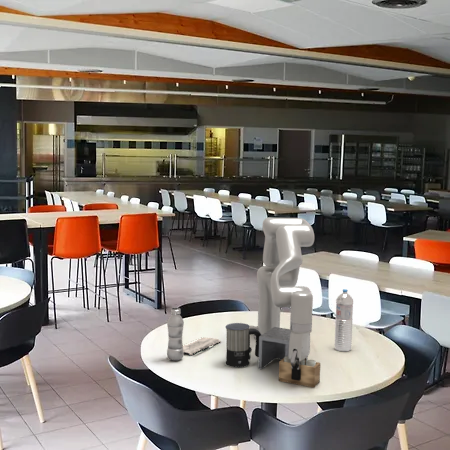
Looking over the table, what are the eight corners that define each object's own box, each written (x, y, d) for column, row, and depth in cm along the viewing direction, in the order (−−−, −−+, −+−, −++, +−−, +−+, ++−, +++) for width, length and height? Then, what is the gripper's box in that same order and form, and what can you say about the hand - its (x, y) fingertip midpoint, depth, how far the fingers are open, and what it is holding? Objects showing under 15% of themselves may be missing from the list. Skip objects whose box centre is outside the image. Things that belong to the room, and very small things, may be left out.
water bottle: (351, 352, 256) (353, 291, 253) (334, 351, 257) (336, 290, 254) (351, 347, 263) (353, 288, 260) (334, 346, 264) (336, 287, 261)
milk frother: (231, 369, 233) (232, 330, 232) (213, 357, 247) (213, 320, 246) (265, 364, 240) (266, 326, 238) (245, 352, 254) (245, 316, 252)
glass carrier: (278, 381, 222) (279, 358, 221) (284, 375, 228) (285, 354, 227) (314, 387, 217) (314, 365, 216) (319, 382, 222) (320, 360, 221)
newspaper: (194, 358, 247) (193, 352, 247) (169, 356, 253) (169, 350, 253) (225, 344, 266) (225, 338, 266) (201, 342, 272) (201, 336, 272)
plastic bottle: (186, 358, 245) (186, 307, 243) (179, 363, 239) (180, 311, 237) (171, 356, 247) (171, 306, 245) (163, 361, 241) (164, 310, 239)
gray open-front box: (258, 368, 235) (259, 336, 234) (273, 357, 248) (274, 326, 247) (288, 374, 230) (289, 341, 228) (302, 362, 243) (303, 331, 242)
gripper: (299, 319, 229) (297, 367, 231) (281, 331, 214) (280, 382, 216) (319, 322, 226) (317, 371, 228) (302, 334, 211) (301, 386, 213)
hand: (299, 376), depth 222 cm, fingers closed on glass carrier, 6 cm apart
